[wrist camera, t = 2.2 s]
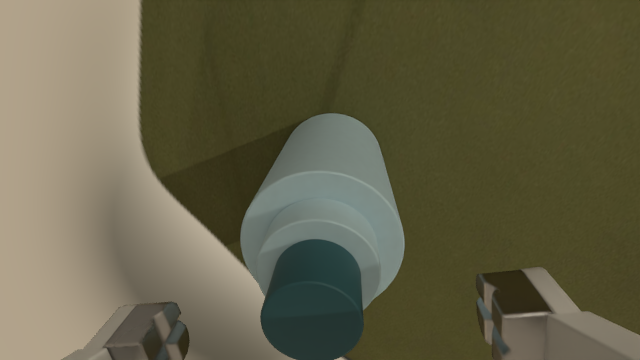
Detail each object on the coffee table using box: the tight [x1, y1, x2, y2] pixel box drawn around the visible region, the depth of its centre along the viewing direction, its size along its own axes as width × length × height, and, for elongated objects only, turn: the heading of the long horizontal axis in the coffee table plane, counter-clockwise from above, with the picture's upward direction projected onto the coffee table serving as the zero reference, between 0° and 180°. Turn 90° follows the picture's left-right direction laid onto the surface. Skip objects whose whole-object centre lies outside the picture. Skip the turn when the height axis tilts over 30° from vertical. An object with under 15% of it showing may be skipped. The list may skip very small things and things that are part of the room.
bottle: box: [240, 113, 404, 360], centre depth 15 cm, size 6×6×12 cm
